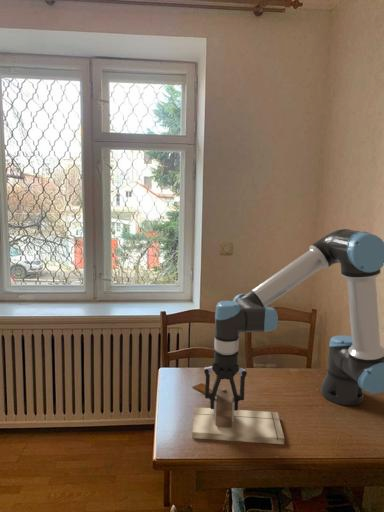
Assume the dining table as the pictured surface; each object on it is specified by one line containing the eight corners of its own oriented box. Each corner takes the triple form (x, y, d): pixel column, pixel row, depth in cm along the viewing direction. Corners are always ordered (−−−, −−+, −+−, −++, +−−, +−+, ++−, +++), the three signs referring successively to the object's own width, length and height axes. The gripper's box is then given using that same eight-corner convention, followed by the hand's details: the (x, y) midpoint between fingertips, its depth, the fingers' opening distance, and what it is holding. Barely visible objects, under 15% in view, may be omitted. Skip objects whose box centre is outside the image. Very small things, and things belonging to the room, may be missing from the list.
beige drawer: (230, 412, 128) (231, 388, 127) (231, 426, 120) (232, 401, 119) (215, 411, 128) (216, 387, 127) (215, 425, 120) (216, 400, 119)
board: (277, 417, 130) (277, 412, 130) (283, 444, 117) (284, 438, 116) (194, 412, 132) (195, 407, 132) (192, 438, 118) (192, 432, 118)
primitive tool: (191, 388, 150) (191, 379, 149) (202, 384, 153) (202, 376, 152) (224, 410, 135) (224, 401, 134) (235, 406, 138) (235, 396, 137)
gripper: (254, 346, 123) (250, 413, 127) (198, 344, 125) (196, 410, 128) (256, 356, 116) (252, 426, 120) (196, 353, 117) (195, 423, 121)
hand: (223, 418), depth 124 cm, fingers closed on beige drawer, 5 cm apart
